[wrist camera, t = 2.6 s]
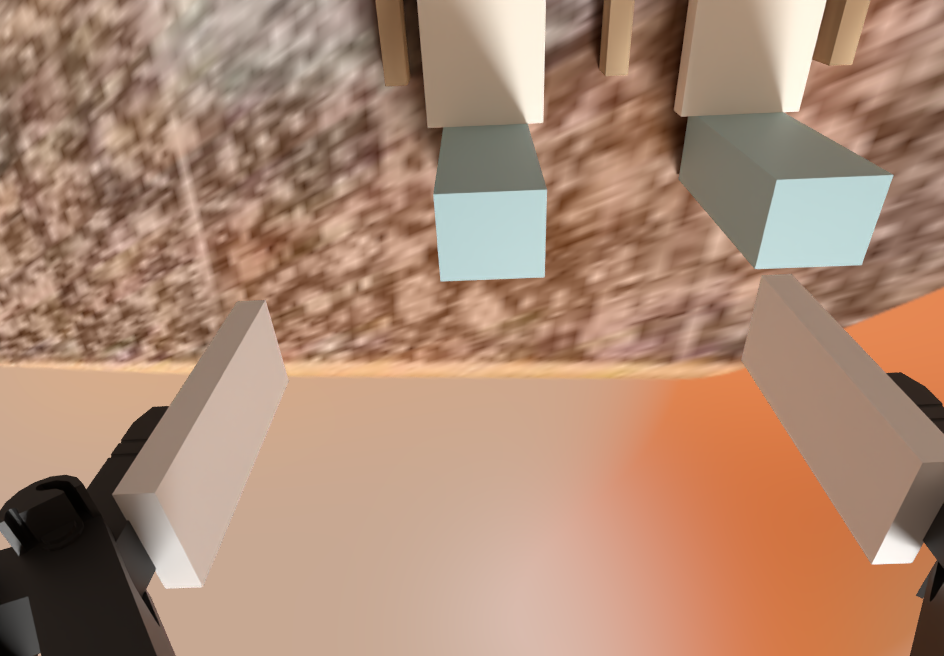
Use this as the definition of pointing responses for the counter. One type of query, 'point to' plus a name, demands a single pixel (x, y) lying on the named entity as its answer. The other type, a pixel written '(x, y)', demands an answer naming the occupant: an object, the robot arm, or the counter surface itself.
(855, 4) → the lane frame
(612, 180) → the counter surface
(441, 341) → the counter surface
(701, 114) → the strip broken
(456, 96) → the multicoloured block
